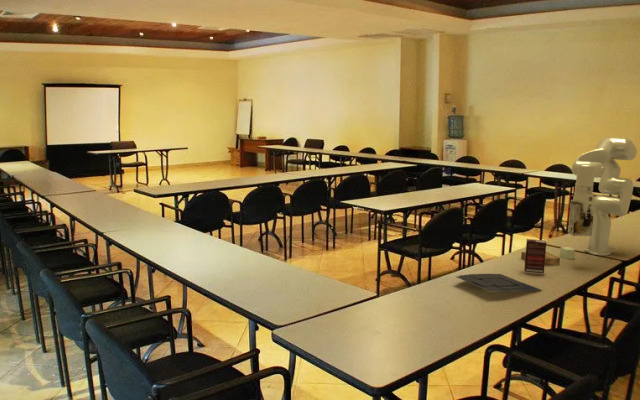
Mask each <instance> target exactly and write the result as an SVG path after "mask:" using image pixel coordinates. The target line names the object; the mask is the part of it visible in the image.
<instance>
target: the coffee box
mask: <svg viewBox="0 0 640 400" xmlns="http://www.w3.org/2000/svg"><path fill="white" fill-rule="evenodd" d="M570 204H571V205H570ZM570 204H569V218H568V220H569V221H568V228H567V229H568V230H567V233H568V234H569V235H570V236H573V237H577V236H578V237H589V236H592V226H593V217H592V218H591V220H590V226H589V227H584V226H583V225H584V219H585V215H584V213H582V204H580V203H577V202H574V201H573V200H571V201H570ZM589 211H590V210H589V209H588V211H587V212H589ZM590 213H591V212H590ZM587 216H588V214H587Z"/></svg>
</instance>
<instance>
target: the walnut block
mask: <svg viewBox="0 0 640 400" xmlns="http://www.w3.org/2000/svg"><path fill="white" fill-rule="evenodd" d="M525 254H526V251H522V252H521V255H520V259H521V260H522V261H525ZM560 260H561V258H560V256H559V257H558V256H556V255H554V254H551V253H549V252H547V251H546V254H545V266H544V267H547V266H548V267H549V266H559V265H560V264H561V263H560Z"/></svg>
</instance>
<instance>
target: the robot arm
mask: <svg viewBox="0 0 640 400" xmlns="http://www.w3.org/2000/svg"><path fill="white" fill-rule="evenodd" d="M637 150H638V149H637V146H636V145H635V143H634V142H633V141H632V140H630V139H629V138H626V137H612V136H610V137H609V136H608V137H607V136H606V137H603V138H602V139H601V140H600V141H599V142H598V144H597V145H596V146H595V148H594V149H592V150H590V151H587V152H584V153H582V154H580V155H578V156H577V158H576V159H575V160H574V162H573V163H572V166H571V172H572V174H573V175H574V176H576V180H575V181H576V182H575V187H574V188H575V189H574V193H573V198H572V201H574V202H577V203H580V204H582V213H584V215H585V219H584V225H583V226H584V227H589V226H590V220H591V218H592V217H593V226H592V236H588V247H586V248H584V252H585V253H587V254H590V255H595V256H603V257H604V256H605V257H606V256H611V254H612V252H611V250H615V249H616V245H610V244H609V243H610V235H611V226H612V221H611V218H610V216H609V215H614V216H620V217H622V216H625V215H627V213H628V212H629V208H630V205H631V204H630V203H631V199H632V197H633V196H632V195H633V191H634V182H633V181H632V179H630V178H627V177H620V175H621V172H622V168H621V166H620V164H619V163H618V162H617V160H620V161H633V160H634V159H635V158H636V156H637V153H638V151H637ZM595 178H596V179H597V178H600V179H599V183H598V184H599V185H598V191H599V192H600V193H601V194H598V195H594V182H595V181H594V180H595ZM602 194H603V195H602ZM605 194H606V195H605ZM612 195H613V196H612ZM618 196H619V197H618ZM570 205H571V203H570V204H569V206H570ZM588 209H589V210H590V211H589V212H587V211H588ZM590 212H591V213H590ZM587 214H588V216H587Z"/></svg>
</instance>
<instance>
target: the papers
mask: <svg viewBox="0 0 640 400" xmlns="http://www.w3.org/2000/svg"><path fill="white" fill-rule="evenodd" d="M456 278H457V279H460V280H462V281H464V282H466V283H469V284H471V285H474V286H476V287H478V288H480V289H482V290H485V291H487V292H489V293H493V292H494V293H495V292H496V293H515V292H530V291H533V292H535V291H542V289H540V288H537V287H536V286H532V285H531V284H527V283H524V282H522V281H519V280H517V279H515V278H512V277H509V276H507V275H504V274H502V273H472V274H471V273H470V274H469V273H468V274H462V275H458V276H456Z"/></svg>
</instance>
